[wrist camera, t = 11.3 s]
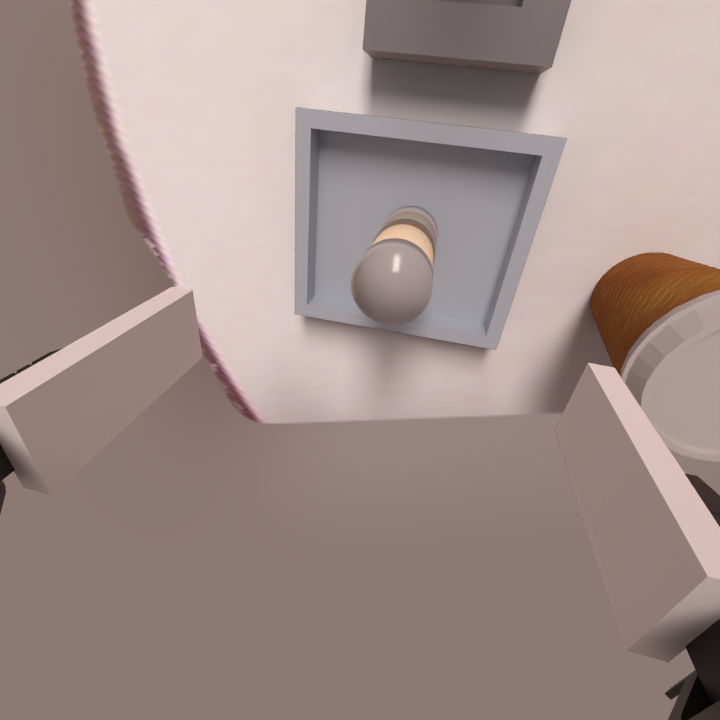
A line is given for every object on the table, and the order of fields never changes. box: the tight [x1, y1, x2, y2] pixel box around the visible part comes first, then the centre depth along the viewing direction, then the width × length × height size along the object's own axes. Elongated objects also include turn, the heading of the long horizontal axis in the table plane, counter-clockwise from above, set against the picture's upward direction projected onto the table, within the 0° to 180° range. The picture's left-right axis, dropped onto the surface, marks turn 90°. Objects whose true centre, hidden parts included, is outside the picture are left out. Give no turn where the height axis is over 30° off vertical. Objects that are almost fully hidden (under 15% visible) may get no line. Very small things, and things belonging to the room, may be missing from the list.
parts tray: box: [295, 107, 567, 350], centre depth 27 cm, size 16×14×2 cm
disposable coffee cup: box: [591, 253, 720, 462], centre depth 22 cm, size 10×10×12 cm
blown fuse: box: [351, 206, 438, 325], centre depth 23 cm, size 4×4×11 cm
